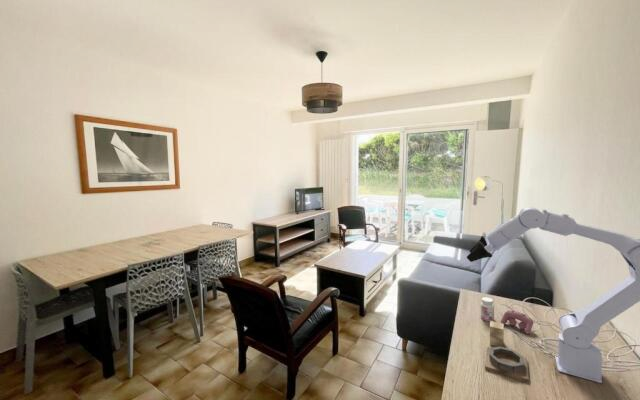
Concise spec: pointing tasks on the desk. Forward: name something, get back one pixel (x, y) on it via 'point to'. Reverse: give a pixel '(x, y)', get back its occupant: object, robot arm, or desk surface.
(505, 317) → the video game controller
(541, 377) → the desk surface
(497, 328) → the maple plug
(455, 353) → the desk surface
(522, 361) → the ring holder
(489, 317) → the pill bottle
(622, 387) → the desk surface
